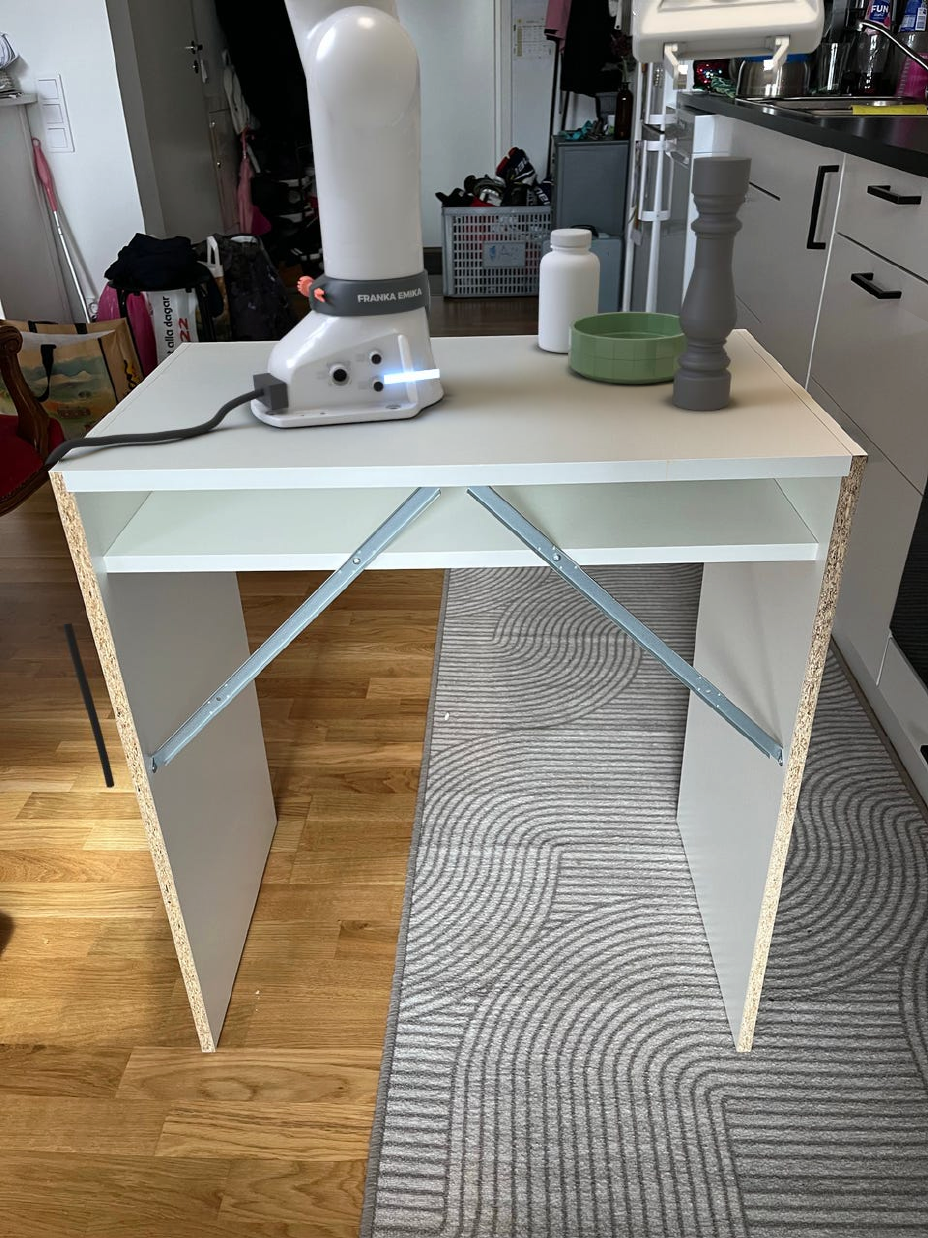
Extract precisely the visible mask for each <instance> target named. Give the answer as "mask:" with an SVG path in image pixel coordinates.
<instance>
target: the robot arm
mask: <svg viewBox="0 0 928 1238" xmlns="http://www.w3.org/2000/svg"><path fill="white" fill-rule="evenodd" d="M284 3H285V8H286V11H287V14H288V18H289V21H290V26H291V29H292V32H293V33H292V34H293V35H294V36H293V37H294V39H295V43H296V47H297V50H298V54H299V58H300V62H301V65H302V68H303V71H304V76H305V79H306V88H307V89H306V90H307V100H308V101H307V102H308V109H309V121H310V130H311V140H312V141H311V142H312V152H313V162H314V173H315V182H316V194H317V203H318V205H317V206H318V214H319V215H318V216H319V225H320V237H321V247H322V257H323V267H324V268H323V270H324V272H323V274H321V275H320V276H318V277H317V278H316V279H314V278H312V277H310V276H308V275H305V276H301V277H300V278H299V280H300V281H299V280H298V281H297V284H298V285H297V289H298V292H300V293H301V294H302V295H303V296H305V297H308V302H309V307H310V309H311V310H310V311H309V313H308V314H307V315H306V316H304V317H303V318H302V319H301V320H300V321H299V322H298V323H297V324H296V325H295V326H293V328H292V329H291V330H290V331H289V332H288V333H287V334H286V335H284V336H283V337H282V338H281V339H280V340H279V341H278V342H277V343H276V344H275V345H274V346H273V347H272V349H271V351H270V354H269V357H268V364H267V372H264V373H258V374H252V381H253V388H254V390H252V391H249V392H246V393H243V394H242V395H239V396H236V397H234V398H233V399H231V400H229V401H228V402H226V403H225V404H223V405H222V406H221V407H220V408H219V409H218V411H217V412H216V414H214V416H213V417H212V418H211V419H210V420H207V421H206V422H204V423H202V424H199V425H196V426H193V427H188V428H180V429H173V430H171V429H170V430H165V431H164V430H163V431H156V432H145V433H119V434H111V435H104V436H94V437H93V436H92V437H91V436H90V437H89V436H88V437H77V438H73V439H69V440H66V441H64V442H62V443H61V444H59V445H57V446H56V448H54V450H53V451H52V452H51V453H50V454H49V456H48V458H47V460H46V461H45V464H48V465H49V464H55V463H57V462H59V460H60V459H61V458H62V457H63V456H64V455H65V454H66V453H67V452H69V451H71V450H73V449H78V448H88V447H104V446H110V445H119V444H134V443H135V444H137V443H155V442H162V441H163V442H164V441H170V440H176V439H177V440H178V439H186V438H191V437H195V436H199V435H202V434H205V433H207V432H209V431H211V430H213V429H214V428H216V427H217V426H219V425H220V424H221V423H222V421H223V420H224V419H225V417H226V416H227V415H228V414H229V413H230V412H232V411H233V410H234V409H236V408H238V407H239V406H242V405H244V404H247V403H249V402H250V409H251V412H252V413H253V415H254V417H256V418H257V419H258V420H260V421H261V422H262V423H264V424H266V425H270V426H273V427H278V428H297V427H309V426H321V425H322V426H323V425H333V424H334V425H335V424H346V423H360V422H371V421H386V420H399V419H409V418H413V417H414V416H416V415H418V414H419V413H420V411H421V410H422V409H424V408H426V407H428V406H431V405H433V404H435V403H436V402H438V401H439V400H441V399H442V398H443V396H444V390H443V387H442V383H441V381H440V369H439V368H437V366H436V362H435V358H434V353H433V348H432V347H433V346H432V342H431V335H430V328H429V327H430V326H429V321H430V318H431V314H430V311H431V290H430V288H431V287H430V282H429V275H428V273H429V272H428V270H427V269H426V268H425V266H424V245H423V244H424V243H423V224H422V220H423V219H422V202H421V201H422V200H421V198H422V197H421V178H422V177H421V176H422V175H421V173H422V101H421V98H422V97H421V94H422V93H421V66H420V59H419V54H418V52H417V49H416V46H415V44H414V41H413V39H412V37H411V36H410V34H409V33H408V31H407V30H406V28H405V27H404V26H403V25H402V24H401V21H400V17H399V16H400V15H399V12H398V7H397V2H396V0H284ZM631 13H632V15H633V17H634V22H633V28H632V56H633V58H634V59H635V60H636V61H637V62H638V63H639V64H652V63H653V64H654V63H663V68H664V69H665V71H666V72H667V73H668V74H669V76H670V77H671V78H672V90H673V91H676V90H687V83H688V64H680V63H679V62H683V61H685V62H686V61H700V60H702V61H703V60H716V59H717V60H718V59H731V58H732V59H733V58H735V59H736V58H750V57H768V56H772V59H764V60H763V64H762V69H761V70H762V72H761V86H766V85H768V86H769V85H776V84H777V80H778V74H779V70H780V69H781V68H782V66H784V64H785V62H786V61H787V59H788V55H800V54H811V53H813V52H814V51H815V50H816V49H818V47H819V45H820V44H821V41H822V38H823V37H822V36H823V32H824V26H825V25H824V24H825V6H824V0H631ZM62 627H63V631H64V635H65V638H66V642H67V646H68V650H69V653H70V657H71V661H72V664H73V668H74V671H75V674H76V675H75V676H76V678H77V681H78V685H79V688H80V691H81V695H82V699H83V702H84V706H85V710H86V712H87V716H88V719H89V724H90V727H91V730H92V734H93V736H94V737H93V738H94V741H95V745H96V749H97V752H98V756H99V760H100V764H101V769H102V773H103V777H104V781H105V785H106V788H110V789H111V788H114V787H115V782H114V781H115V780H114V776H113V771H112V767H111V763H110V759H109V755H108V752H107V747H106V744H105V739H104V735H103V732H102V728H101V725H100V720H99V717H98V714H97V709H96V706H95V702H94V699H93V696H92V691H91V689H90V686H89V681H88V678H87V675H86V671H85V668H84V667H85V666H84V664H83V660H82V657H81V654H80V649H79V646H78V642H77V637H76V633H75V631H74V627H73V623H72V622H69V623H65V624H64V623H63V624H62Z"/></svg>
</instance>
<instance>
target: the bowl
mask: <svg viewBox="0 0 928 1238" xmlns="http://www.w3.org/2000/svg"><path fill="white" fill-rule="evenodd" d="M686 338H687V337H686V336H685V334H684V333H683V332H682V329H681V327H680V323H679V315H675V314H670V313H661V312H650V311H616V312H603V313H598V314H595V315H590V316H586V317H581V318H579V319H577V320H574V321H572V322H571V324H570V325H569V341H568V344H569V345H568V353H567V364H568V366H569V367H570V369H572V370H574V371H576V372H577V373H578V374H579V375H581V376H583V377H585V378H587V379H590V380H594V381H598V382H603V383H612V384H620V385H623V384H624V385H641V384H642V385H643V384H644V385H645V384H654V383H656V384H657V383H661V382H668V381H670V380H674V373H675V371H676V370H677V369H679V368H681V366H680V365H679V364H678V358H679V357H680V356H681V354H682V353H683V351H684V350H685V349H686V348H687V343H686V342H685V340H686Z"/></svg>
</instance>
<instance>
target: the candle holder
mask: <svg viewBox="0 0 928 1238" xmlns="http://www.w3.org/2000/svg"><path fill="white" fill-rule="evenodd" d="M752 159H753V158H752V157H749V156H736V155H735V156H734V155H731V156H730V155H729V156H728V155H727V156H725V155H724V156H721V155H720V156H718V155H717V156H702V157H701V156H700V157H695V158H693V162H692V176H691V186H690V187H691V188H690V189H691V190H690V193H691V194H692V195H693V199H692V201H693V204H694V205H695V209H696V212H697V213H698V216H697V218H695V219H694V220H693V221H692V222H691V223H690V230H691V231H692V232H694V236H695V237H696V240H695V251H694V261H693V269H692V272H691V276H690V278H689V281H688V285H687V288H686V292H685V295H684V299H683V301H682V304H681V306H680V311H679V315H678V316H679V323H680V327H681V329H682V332H683V333H684V334H685V336H686V337H687V338H686V340H685V342H686V343H687V348H686V349H685V350H684V351H683V353H682V354H681V356H680V357H679V358H678V364H679V365H680V366H681V368H679V369H677V370H676V371H675V373H674V379H673V387H672V388H673V389H672V400H671V401H672V404H673V405H674V406H676V407H678V408H681V409H684V410H690V411H698V412H699V411H717V410H722V409H724V408H727V407H728V405H729V403H730V393H731V385H732V383H731V382H732V372H730V371H729V369H727V368H729V366H730V365H731V358H730V356H728V353H727V351H726V349H725V348H724V346H725V345H726V344H727V342H728V340H727V338H728V337H729V336H730V335H731V333H732V332H733V330H734V329H735V327H736V325H737V322H738V307H737V300H736V294H735V283H734V276H733V267H732V266H733V257H734V256H733V255H734V246H735V237H736V236H737V234H738V233H739V232H740V231H741V230H742V229H743V222H742V221H741V219H739V218H738V216H737V213H738V212H740V210H741V206H742V205H743V204H744V202H745V199H746V198H745V196H746V194H748V193H749V191H750V189H749V187H750V179H751V170H752V169H751V168H752Z"/></svg>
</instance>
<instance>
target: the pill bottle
mask: <svg viewBox="0 0 928 1238" xmlns="http://www.w3.org/2000/svg"><path fill="white" fill-rule="evenodd" d="M592 235H593V234H592V231H591V230H589V229H583V228H561V229H559V228H558V229H554V230H552V231H551V232H550V246H549V247H550V248H551V249H552V251H549V252H548V253H547V252H546V254H544V256H542V258H541V260H540V264H539V295H538V297H539V298H538V346H539V348H540V349H542V350H545V351H547V352H551V353H560V354H568V345H569V344H568V341H569V325H570V324H571V322H572V321H574V320H577V319H579V318H581V317H586V316H590V315H595V314H599V295H600V277H601V276H600V274H601V262H600V259H599V257H598V256H597V255H596V254H595V253H594V252H591V251H590V250H589V249H591V248H592V245H591V244H592V237H593V236H592Z"/></svg>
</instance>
